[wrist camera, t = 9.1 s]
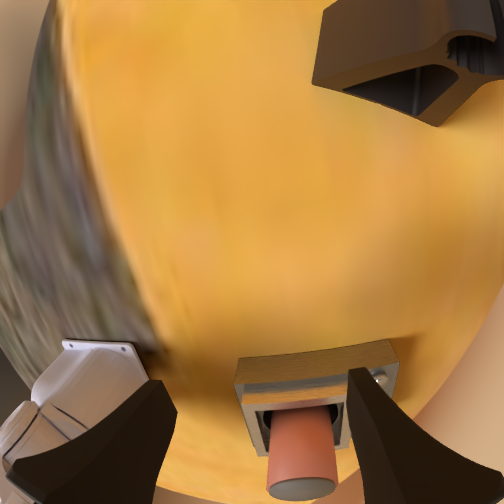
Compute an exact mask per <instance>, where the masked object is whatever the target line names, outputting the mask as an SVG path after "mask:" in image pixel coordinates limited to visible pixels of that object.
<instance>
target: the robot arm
mask: <svg viewBox="0 0 504 504" xmlns="http://www.w3.org/2000/svg"><path fill="white" fill-rule="evenodd" d="M62 345H63V347H64V349H65V350H64V351H63V352H62V353H61V354H60V355H59V356H58V357H57V358H56V359H55V360H54V361H53V363H52V364H51V365H50V366H49V367H48V368H47V369H46V370H45V371H44V372H43V373H42V374H41V376H40V377H39V378H38V379H37V380H36V382H35V383H34V386H33V389H32V394H31V401H24V402H23V403H22V404H21V405H20V406H19V407H18V408H17V409H16V410H15V411H14V412H13V413H12V414H11V415H10V416H9V418H8V419H7V420H6V421H5V422H4V424H3V425H2V426H1V428H0V504H152V501H153V495H154V491H155V486H156V481H157V478H158V474H159V471H160V469H161V466H162V463H163V461H164V458H165V455H166V452H167V450H168V447H169V444H170V441H171V439H172V436H173V433H174V428H175V424H176V418H177V413H178V412H177V410H176V408H175V406H174V404H173V402H172V400H171V398H170V396H169V394H168V392H167V390H166V388H165V386H164V384H163V382H162V380H149V378H148V376H147V374H146V372H145V370H144V368H143V366H142V363H141V361H140V359H139V357H138V355H137V353H136V350H135V348H134V346H133V345H132V344H130V343H121V342H97V341H81V340H68V339H64V340H63V341H62ZM346 408H347V415H348V422H349V428H350V432H351V435H352V439H353V443H354V447H355V450H356V454H357V458H358V462H359V466H360V470H361V474H362V479H363V487H364V496H365V504H496V503H498V502H499V501H500V500H502V499H503V498H504V477H503V475H502V473H501V472H499V471H497V470H494V469H491V468H488V467H485V466H483V465H480V464H478V463H476V462H473V461H471V460H469V459H467V458H465V457H463V456H461V455H460V454H458V453H456V452H454V451H453V450H451V449H450V448H448V447H446V446H444V445H443V444H442V443H440V442H439V441H437V440H436V439H434V438H433V437H431V436H430V435H429V434H428V433H427V432H425V431H424V430H423V429H422V428H421V427H419V426H418V425H417V424H416V423H415V422H414V421H413V420H412V419H411V418H409V417H408V416H407V415H406V414H405V413H404V412H403V411H402V410H401V409H400V408H399V407H398V405H397V404H396V403H395V402H394V401H393V400H392V399H391V398H390V397H389V396H388V394H387V393H386V392H385V391H384V390H383V389H382V387H381V386H380V385H379V384H378V382H377V381H376V380H375V379H374V377H373V376H372V375H371V373H370V372H369V371H368V369H367V368H366V367H360V368H355V369H349V370H348V385H347V397H346Z"/></svg>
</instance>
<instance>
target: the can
mask: <svg viewBox="0 0 504 504" xmlns="http://www.w3.org/2000/svg"><path fill="white" fill-rule="evenodd" d="M337 486H338V474H337V465H336V456H335V447H334V439H333V432H332V424H331V417H330V410H329V408H328V406H327V405H319V406H311V407H303V408H292V409H280V410H274V411H273V412H272V415H271V432H270V447H269V461H268V474H267V487H266V490H267V491H268V492H269V494H270V495H271V496H272V497H274V498H276V499H280V500H286V501H307V500H313V499H318V498H321V497H324V496H327V495H329V494H331V493H332V492H333V491H334V490H335V488H336V487H337Z"/></svg>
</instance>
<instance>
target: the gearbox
mask: <svg viewBox="0 0 504 504" xmlns="http://www.w3.org/2000/svg"><path fill="white" fill-rule="evenodd" d="M399 364H400V361H399V359H398V358H397V356H396V354H395V352H394V350H393V348H392V346H391V344H390V342H389V340H388V339H385V340H380V341H375V342H370V343H364V344H359V345H353V346H347V347H341V348H334V349H328V350H321V351H313V352H305V353H297V354H287V355H277V356H266V357H253V358H239V360H238V365H237V370H236V375H235V380H234V387H235V390H236V394H237V397H238V400H239V403H240V407H241V410H242V413H243V416H244V419H245V422H246V425H247V428H248V431H249V434H250V437H251V440H252V443H253V446H254V447H255V449H256V452H257V455H258V456H269V447H270V432H271V415H272V412H273V411H274V410H280V409H292V408H303V407H311V406H319V405H327V406H328V408H329V410H330V417H331V424H332V432H333V439H334V447H335V450H338V449H344V448H348V447H349V441H350V437H352V435H351V432H350V428H349V422H348V415H347V408H346V397H347V385H348V370H349V369H355V368H360V367H366V368H367V369H368V371H369V372H370V373H371V375H372V376H373V377H374V379H375V380H376V381H377V382H378V384H379V385H380V386H381V387H382V389H383V390H384V391H385V392H386V393H387V394H388V396H389V397H390V398H391V399H392V396H393V392H394V388H395V383H396V379H397V374H398V369H399Z"/></svg>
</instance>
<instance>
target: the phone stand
mask: <svg viewBox="0 0 504 504" xmlns="http://www.w3.org/2000/svg"><path fill="white" fill-rule="evenodd" d="M495 80H504V0H338V1H336V2H335V3H333V4H332V5H330V6H329V7H327V8H326V9H325V10H324V11H323V17H322V23H321V30H320V36H319V42H318V48H317V54H316V60H315V66H314V72H313V77H312V84H313V85H315V86H319V87H323V88H327V89H331V90H335V91H338V92H342V93H345V94H349V95H352V96H355V97H359V98H362V99H365V100H368V101H371V102H374V103H379V104H381V105H382V106H385V107H388V108H391V109H393V110H396V111H399V112H401V113H404V114H406V115H409V116H411V117H413V118H416V119H418V120H420V121H423V122H425V123H427V124H429V125H431V126H435V127H438V126H439V125H440V124H442V123H443V122H444V121H445V120H446V119H447V118H448V117H449V116H450V115H451V114H452V113H453V112H454V111H455V110H456V109H458V108H459V107H460V106H461V105H462V104H463V103H464V102H465V101H466V100H467V99H468V98H469V97H470V96H471V95H472V94H473V93H474V92H475V91H476V90H477V89H478V88H479V87H481V86H482V85H483V84H485V83H488V82H491V81H495Z"/></svg>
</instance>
